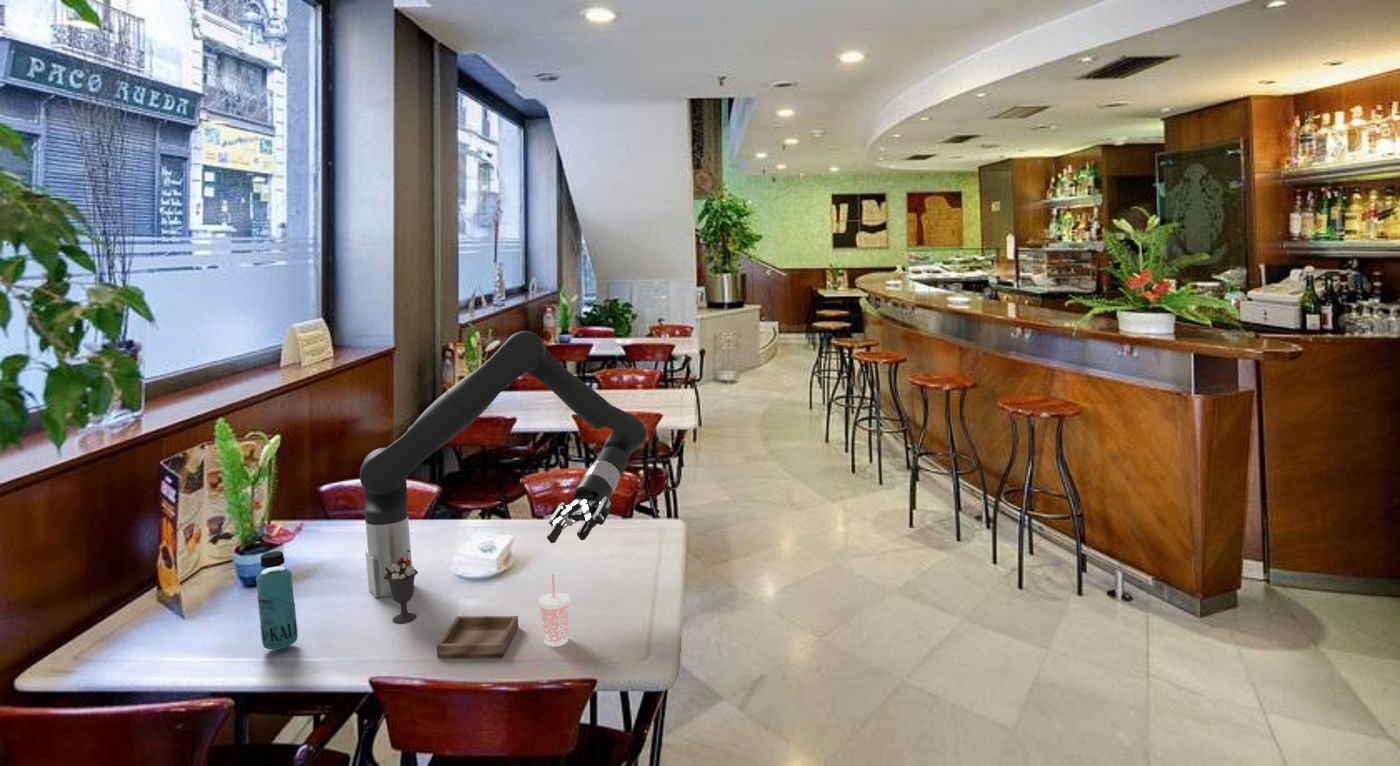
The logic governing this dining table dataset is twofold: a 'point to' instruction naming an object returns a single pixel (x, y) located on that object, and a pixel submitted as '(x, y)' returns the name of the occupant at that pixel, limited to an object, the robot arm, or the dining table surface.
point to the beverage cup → (554, 617)
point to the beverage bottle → (276, 602)
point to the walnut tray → (478, 637)
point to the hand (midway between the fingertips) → (565, 539)
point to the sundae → (402, 587)
